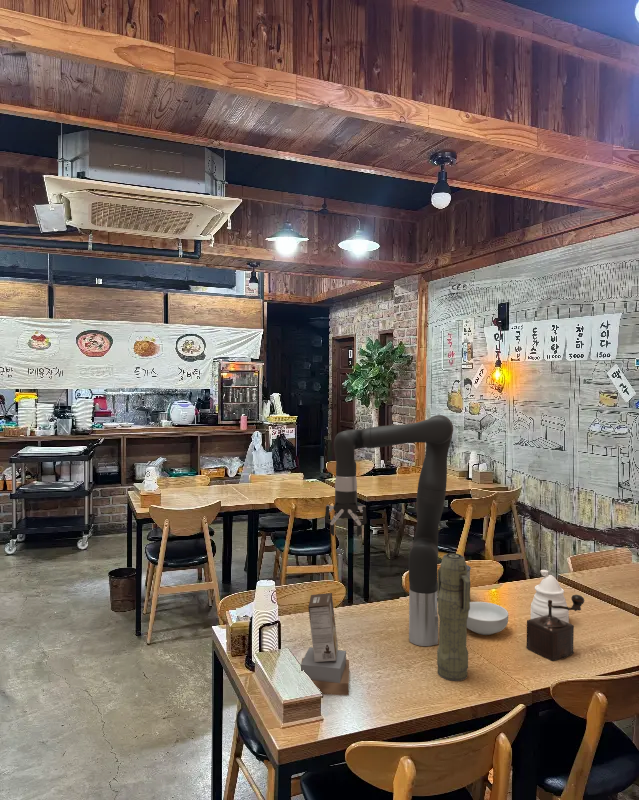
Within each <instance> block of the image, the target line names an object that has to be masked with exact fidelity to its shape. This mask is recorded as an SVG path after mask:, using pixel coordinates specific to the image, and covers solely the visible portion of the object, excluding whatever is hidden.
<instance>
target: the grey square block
mask: <svg viewBox="0 0 639 800" xmlns="http://www.w3.org/2000/svg"><path fill="white" fill-rule="evenodd" d="M303 658H304V659H303V661H302V660H301V662H302V663H300V667H301V671H303V670H304V672H305V673H306V674H307V675H308V676H309V677H310V678H311V680H315V681H325V682H334V683H340V681H341V678H342V675H343V672H344V669H345V666H346V660H347V650H340V649H337V658H336V661H323V662H315V661H314V652H313V646H312V647H308V649H307V651H306V653H305V655H304V657H303Z"/></svg>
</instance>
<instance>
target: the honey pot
mask: <svg viewBox="0 0 639 800" xmlns="http://www.w3.org/2000/svg"><path fill="white" fill-rule="evenodd" d="M540 574H541V575H542V576H543V579H541V581H540V583H539V584H536V585H535V586H534V591H535V593H534V595H533V598H532V601H531V602H530V603H531V604H530V619H534V618H537V617H541V616H545V615H549V607H548V604H549V603H548V600H552V605H553V606H565V607H568V603H567V599H566V598H565V595H564V594H565V590H564V589H563V588H562V587H561V586H560V583H559V581H558V580H557V579H556V577H555V576H553V575H552V574H549V570H547V569H541V570H540ZM569 611H570V610H567V609H561V608H552V616H554V617H556V618H558V619H560V620H562V621H565V622H567V623H570V619H569V617H570V614H569V613H570V612H569Z"/></svg>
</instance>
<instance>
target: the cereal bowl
mask: <svg viewBox="0 0 639 800" xmlns="http://www.w3.org/2000/svg"><path fill="white" fill-rule="evenodd" d="M508 622H509V612H508V610H507V609H506V608H504V607H503V606H501V605H498V604H496V603H493V602H492V603H491V602H487V601H470V610H469V613H468V618H467V629H468V630H469V631H472V632H474V633H475V634H479V635H482V636H483V635H484V636H488V635H489V636H490V635H493V634H496V633H499V632H502V631H503V630H505V628H506V627H507V626H508Z"/></svg>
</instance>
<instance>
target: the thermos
mask: <svg viewBox="0 0 639 800" xmlns="http://www.w3.org/2000/svg"><path fill="white" fill-rule="evenodd" d="M467 565H468V564H467V562H466V559H465V556H463V555H461V554H460V553H455V552H454V553H453V552H451V553H446V554H444V555H443V556H442V560H441V562H440V567H439V568H438V569H437V582H438V589H437V598H438V601H437V614H438V647H437V651H436V665H437V675H438V676H439V677H440V678H441V679H444V680H446V681H450V682H460V681H463V680H466V679H467V677H468V669H469V651H468V648H467V638H468V637H467V634H468V633H467V631H468V630H467V629H468V628H467V618H468V613H469V610H470V602H471V579H470V580H469V577H468V576H467Z"/></svg>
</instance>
